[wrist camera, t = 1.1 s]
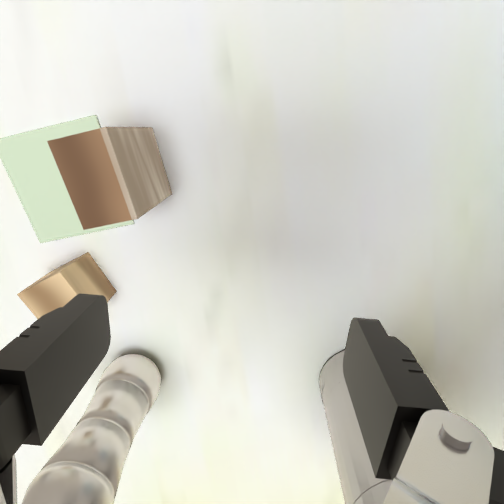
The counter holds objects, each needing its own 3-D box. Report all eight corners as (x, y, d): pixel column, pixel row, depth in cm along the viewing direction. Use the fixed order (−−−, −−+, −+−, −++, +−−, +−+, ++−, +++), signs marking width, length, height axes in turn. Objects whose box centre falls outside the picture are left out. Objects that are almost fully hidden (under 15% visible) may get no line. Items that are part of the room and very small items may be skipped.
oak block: (88, 251, 33) (59, 272, 28) (116, 291, 35) (94, 316, 30) (50, 271, 34) (16, 294, 29) (80, 308, 36) (52, 336, 31)
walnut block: (152, 127, 29) (105, 126, 20) (172, 193, 31) (137, 218, 22) (109, 137, 29) (46, 141, 21) (132, 202, 31) (83, 230, 23)
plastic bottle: (113, 389, 39) (-23, 625, 21) (109, 342, 37) (-49, 562, 18) (166, 393, 39) (78, 634, 21) (165, 347, 37) (65, 572, 18)
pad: (96, 115, 28) (94, 115, 28) (134, 223, 32) (133, 223, 31) (-7, 140, 29) (-8, 140, 29) (41, 242, 33) (40, 243, 33)
